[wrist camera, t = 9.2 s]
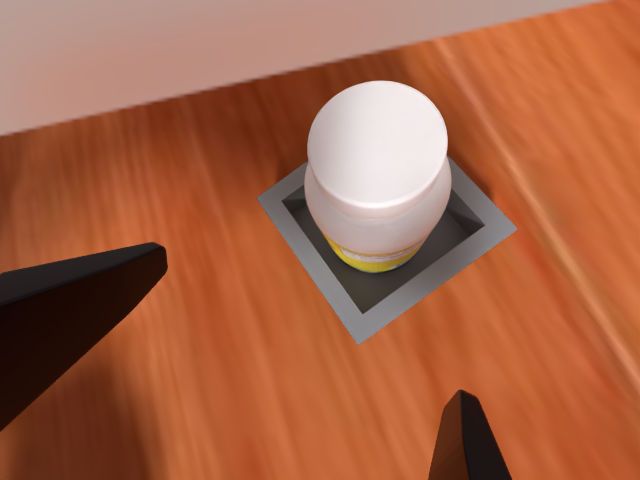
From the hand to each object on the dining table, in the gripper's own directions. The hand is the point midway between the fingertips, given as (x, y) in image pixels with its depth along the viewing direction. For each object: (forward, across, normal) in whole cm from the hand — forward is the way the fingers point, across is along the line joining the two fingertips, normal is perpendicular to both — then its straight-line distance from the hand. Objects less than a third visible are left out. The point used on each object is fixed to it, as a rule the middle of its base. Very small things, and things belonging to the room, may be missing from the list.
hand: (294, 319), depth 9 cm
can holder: (+11, 0, +3) cm, 11 cm away
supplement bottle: (+11, 0, +3) cm, 11 cm away
